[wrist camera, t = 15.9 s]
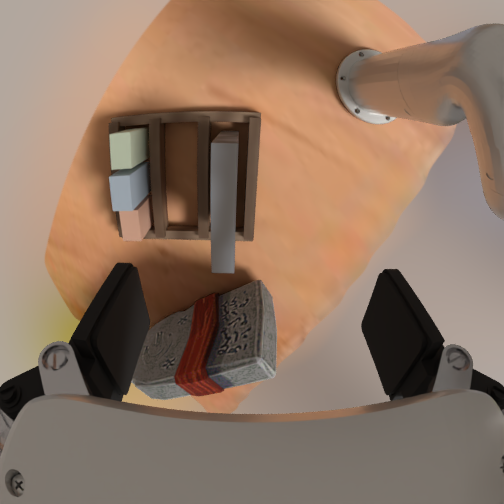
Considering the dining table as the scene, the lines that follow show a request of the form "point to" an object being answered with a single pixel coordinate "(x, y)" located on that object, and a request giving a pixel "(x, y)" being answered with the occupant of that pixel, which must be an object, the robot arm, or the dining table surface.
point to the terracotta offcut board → (137, 220)
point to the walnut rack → (203, 170)
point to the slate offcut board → (130, 187)
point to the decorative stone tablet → (210, 346)
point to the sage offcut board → (129, 148)
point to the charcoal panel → (223, 200)
